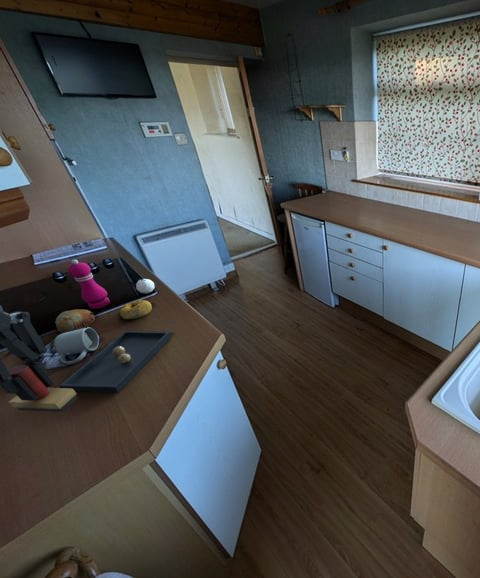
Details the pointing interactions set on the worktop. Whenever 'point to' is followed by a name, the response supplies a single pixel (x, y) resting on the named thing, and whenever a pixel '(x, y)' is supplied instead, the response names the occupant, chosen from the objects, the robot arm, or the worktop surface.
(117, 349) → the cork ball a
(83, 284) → the pepper mill
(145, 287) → the white ovoid
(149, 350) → the tray
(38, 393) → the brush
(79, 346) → the ceramic mug
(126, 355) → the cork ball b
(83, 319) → the bread roll
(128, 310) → the bagel
